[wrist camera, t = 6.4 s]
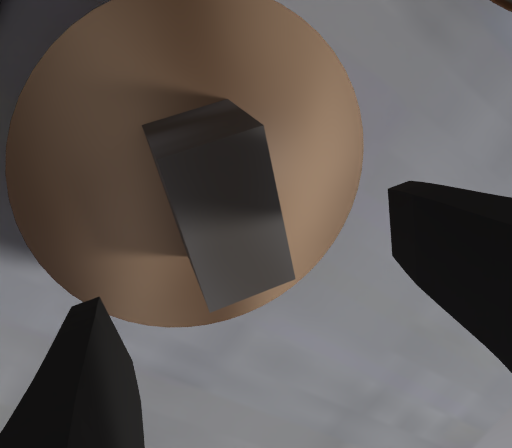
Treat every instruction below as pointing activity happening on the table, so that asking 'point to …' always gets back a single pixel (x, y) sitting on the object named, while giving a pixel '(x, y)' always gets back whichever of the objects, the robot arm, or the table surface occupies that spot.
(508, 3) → the tin
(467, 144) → the table surface
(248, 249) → the lid
